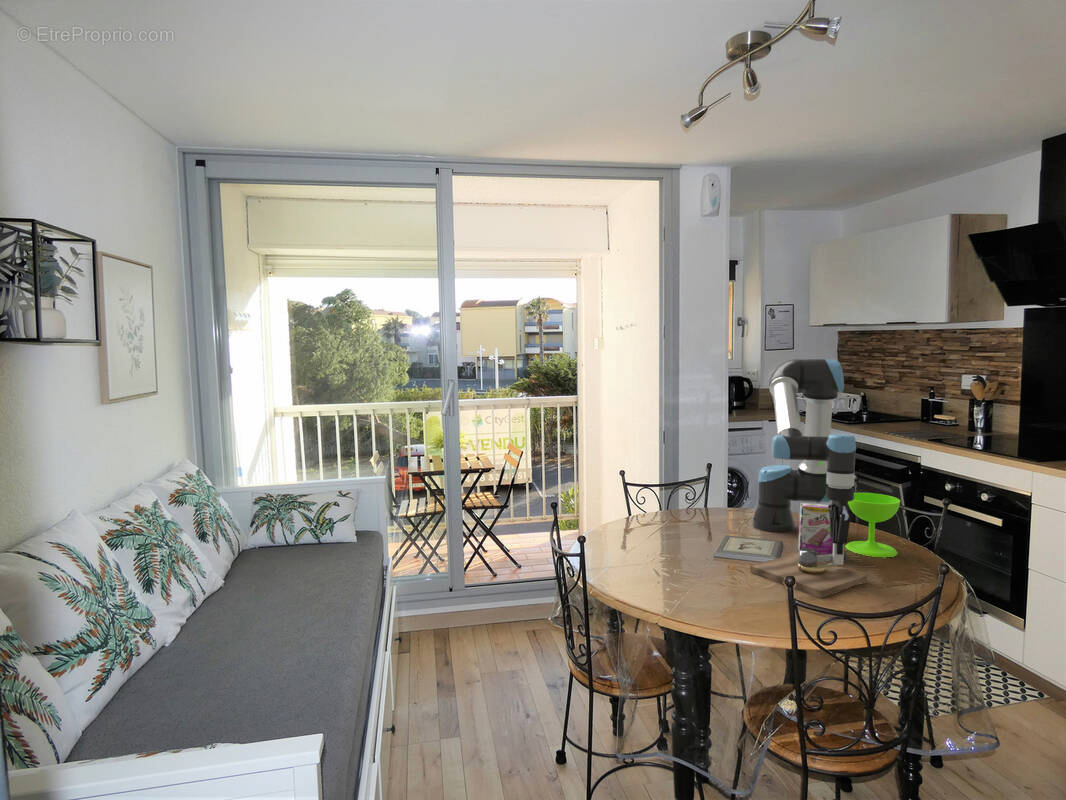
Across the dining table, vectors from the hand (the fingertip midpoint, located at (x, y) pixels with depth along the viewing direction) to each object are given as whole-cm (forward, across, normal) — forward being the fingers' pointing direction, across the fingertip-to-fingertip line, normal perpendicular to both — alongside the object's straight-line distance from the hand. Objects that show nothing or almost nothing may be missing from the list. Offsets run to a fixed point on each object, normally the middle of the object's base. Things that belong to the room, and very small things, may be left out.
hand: (837, 563), depth 194 cm
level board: (+4, -1, +9) cm, 10 cm away
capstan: (+2, +1, +4) cm, 4 cm away
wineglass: (+4, +27, -20) cm, 34 cm away
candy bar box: (+4, +22, 0) cm, 22 cm away
